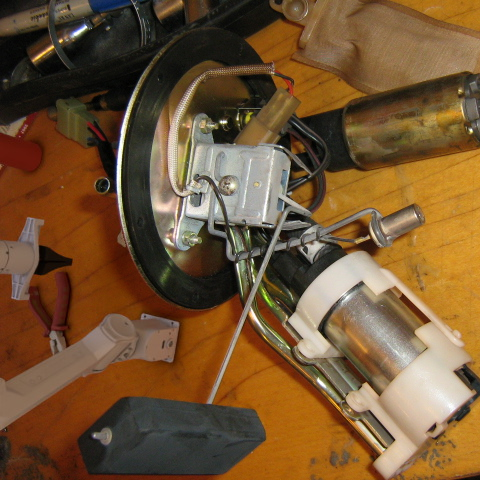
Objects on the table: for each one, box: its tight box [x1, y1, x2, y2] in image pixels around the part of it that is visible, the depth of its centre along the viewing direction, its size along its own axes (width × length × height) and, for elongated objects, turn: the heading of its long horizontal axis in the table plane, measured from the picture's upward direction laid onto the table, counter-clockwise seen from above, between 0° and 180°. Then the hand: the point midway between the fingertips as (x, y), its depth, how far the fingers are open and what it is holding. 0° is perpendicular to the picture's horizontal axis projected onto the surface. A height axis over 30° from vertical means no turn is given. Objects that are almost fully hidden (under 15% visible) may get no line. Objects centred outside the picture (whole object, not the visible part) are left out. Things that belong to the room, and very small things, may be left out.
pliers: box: [27, 271, 70, 356], centre depth 101 cm, size 12×20×3 cm, turn 20°
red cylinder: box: [0, 132, 43, 172], centre depth 106 cm, size 7×7×11 cm
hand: (68, 261), depth 89 cm, fingers closed
